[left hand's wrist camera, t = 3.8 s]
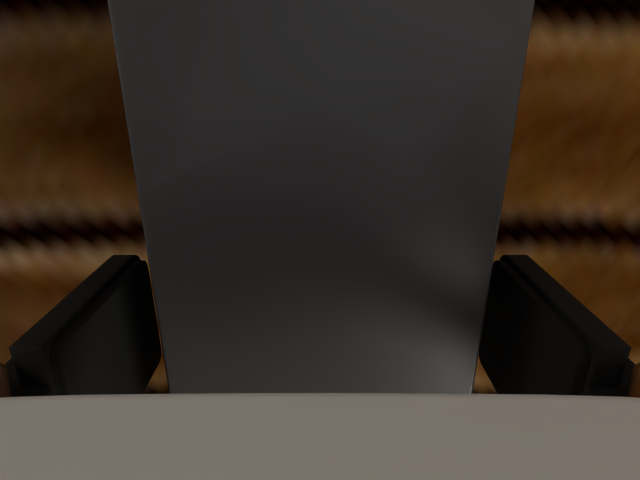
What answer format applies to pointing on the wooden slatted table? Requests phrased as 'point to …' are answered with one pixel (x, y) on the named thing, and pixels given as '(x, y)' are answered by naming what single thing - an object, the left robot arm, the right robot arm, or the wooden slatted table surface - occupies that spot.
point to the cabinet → (320, 185)
